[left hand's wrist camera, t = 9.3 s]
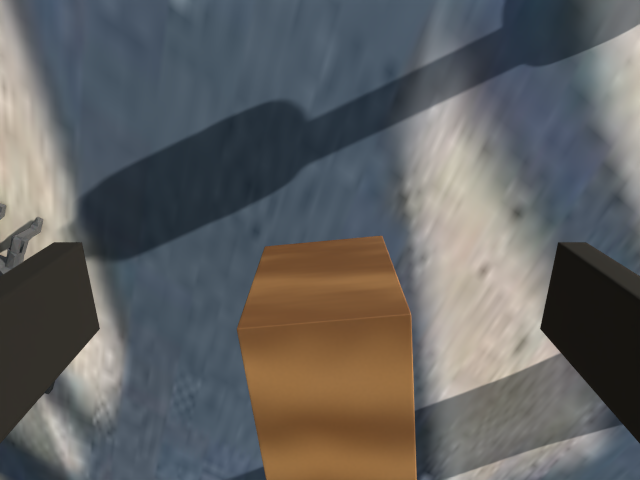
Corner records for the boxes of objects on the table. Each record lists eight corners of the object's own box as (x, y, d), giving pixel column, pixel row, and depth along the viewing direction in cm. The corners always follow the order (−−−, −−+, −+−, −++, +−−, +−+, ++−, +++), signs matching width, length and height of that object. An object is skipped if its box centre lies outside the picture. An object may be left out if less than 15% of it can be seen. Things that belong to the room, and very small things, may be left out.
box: (264, 246, 31) (236, 328, 21) (382, 235, 31) (411, 313, 21) (302, 488, 40) (295, 632, 29) (395, 482, 39) (421, 625, 29)
